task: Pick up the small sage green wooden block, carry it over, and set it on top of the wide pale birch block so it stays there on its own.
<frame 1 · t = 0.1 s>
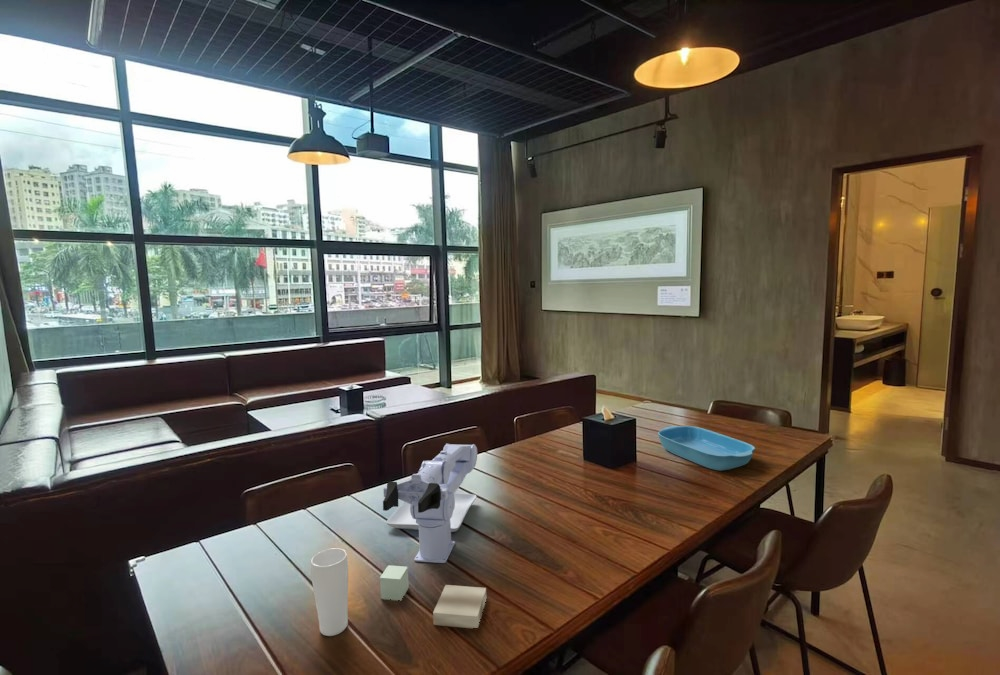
hand: (402, 506, 100), 22 cm above the table, tool horizontal, fingers open, 7 cm apart
casserole dish: (703, 457, 182), on the table
drinking glass: (334, 628, 95), on the table
sage block: (395, 593, 106), on the table
salad plate: (434, 518, 140), on the table
birch base: (461, 613, 99), on the table
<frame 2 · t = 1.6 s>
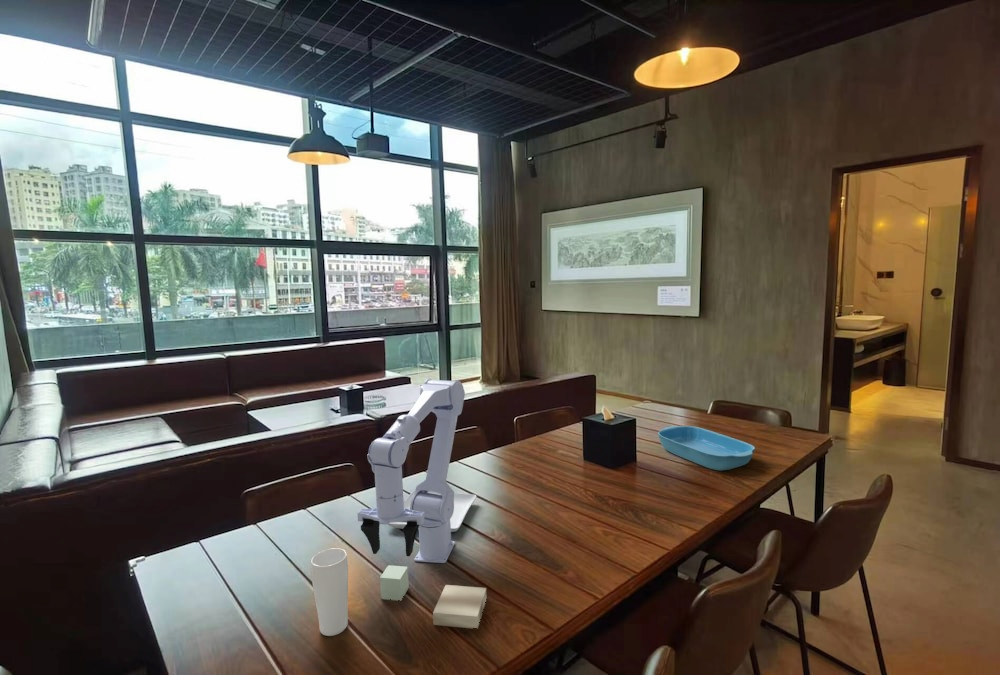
hand: (392, 552, 105), 9 cm above the table, tool pointing down, fingers open, 7 cm apart
nothing on the table moved.
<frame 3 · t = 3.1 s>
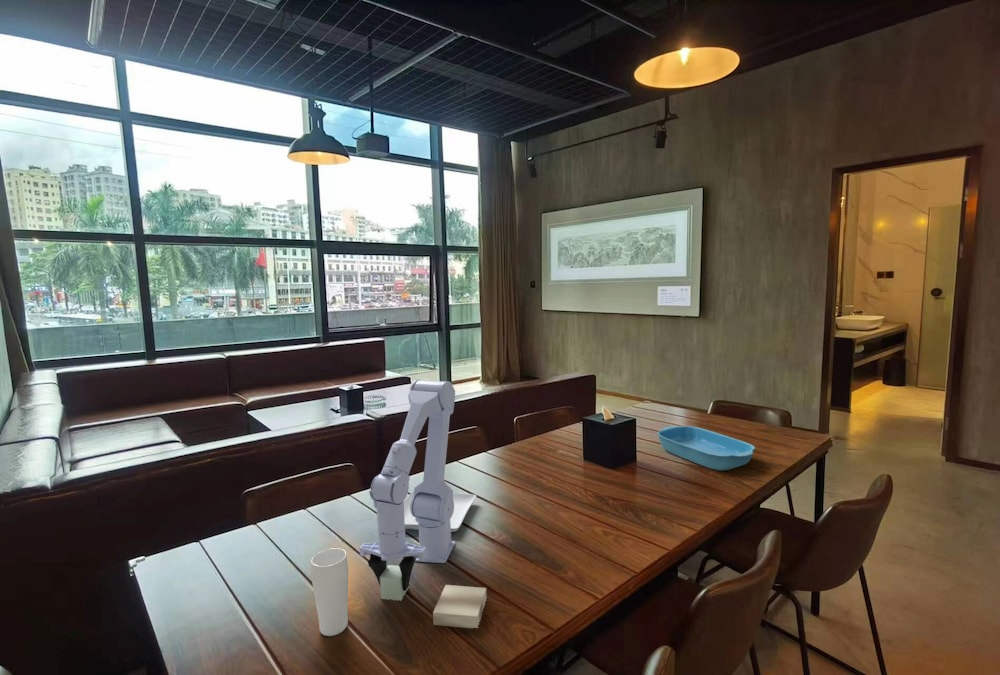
hand: (394, 586, 105), 1 cm above the table, tool pointing down, fingers closed on sage block, 5 cm apart
sage block: (395, 593, 106), on the table, touching gripper
everything else where it was.
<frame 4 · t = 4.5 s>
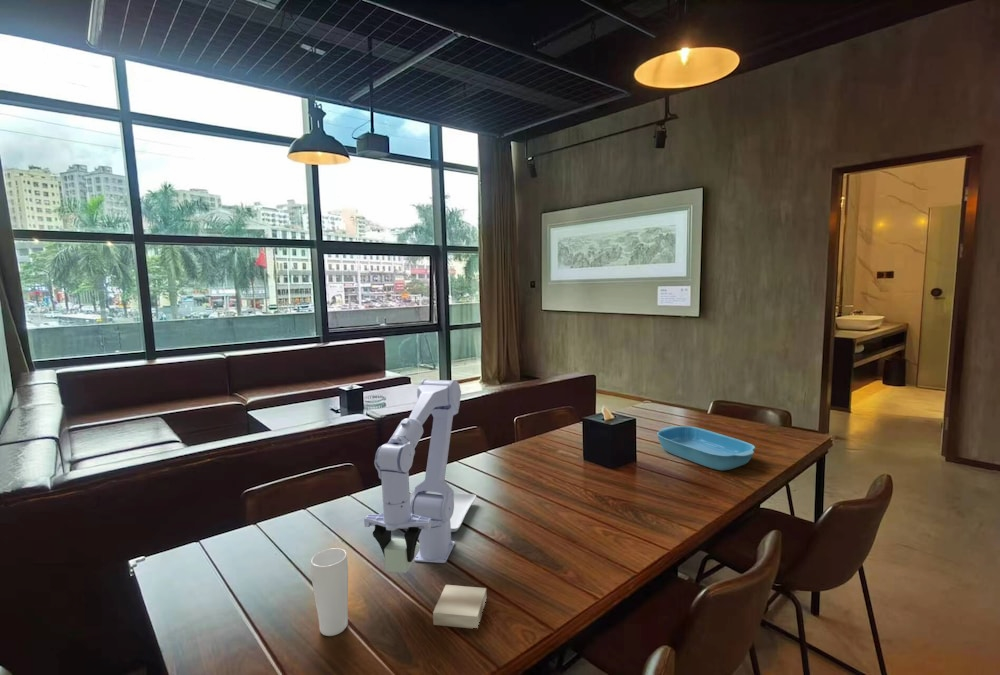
hand: (399, 558, 104), 8 cm above the table, tool pointing down, fingers closed on sage block, 5 cm apart
sage block: (399, 565, 104), point 7 cm above the table, touching gripper
everything else where it was.
when the fingers open (6 cm above the table, at t = 6.3 s): sage block drops 1 cm, resting on birch base.
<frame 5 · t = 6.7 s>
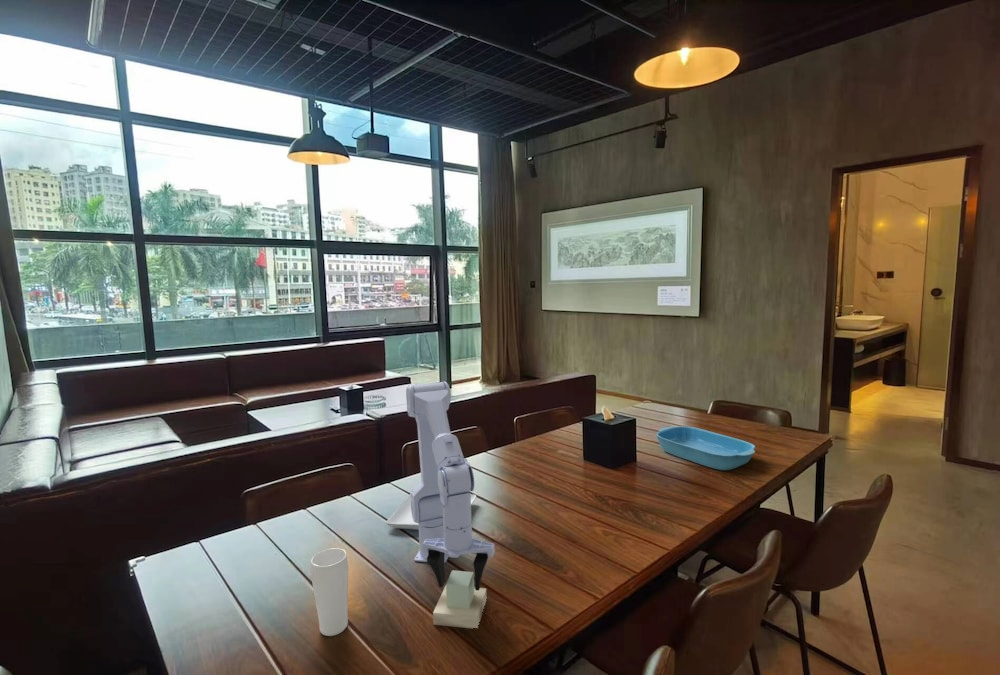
hand: (460, 585, 98), 6 cm above the table, tool pointing down, fingers open, 7 cm apart
sage block: (460, 600, 99), point 2 cm above the table, touching birch base
birch base: (461, 613, 99), on the table, touching sage block
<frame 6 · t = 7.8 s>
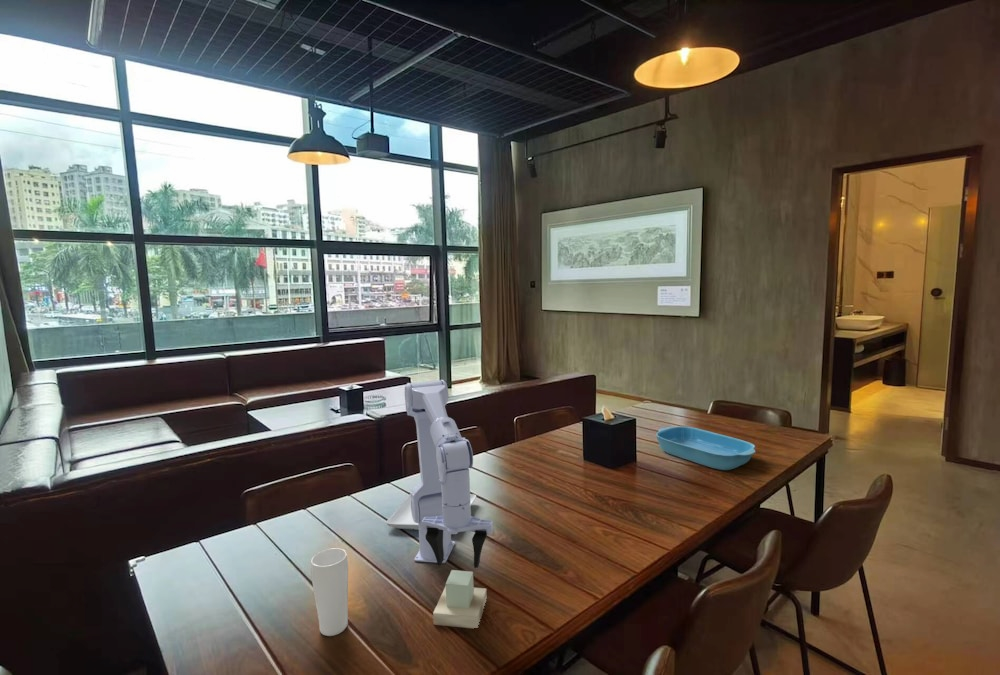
hand: (458, 563, 98), 10 cm above the table, tool pointing down, fingers open, 7 cm apart
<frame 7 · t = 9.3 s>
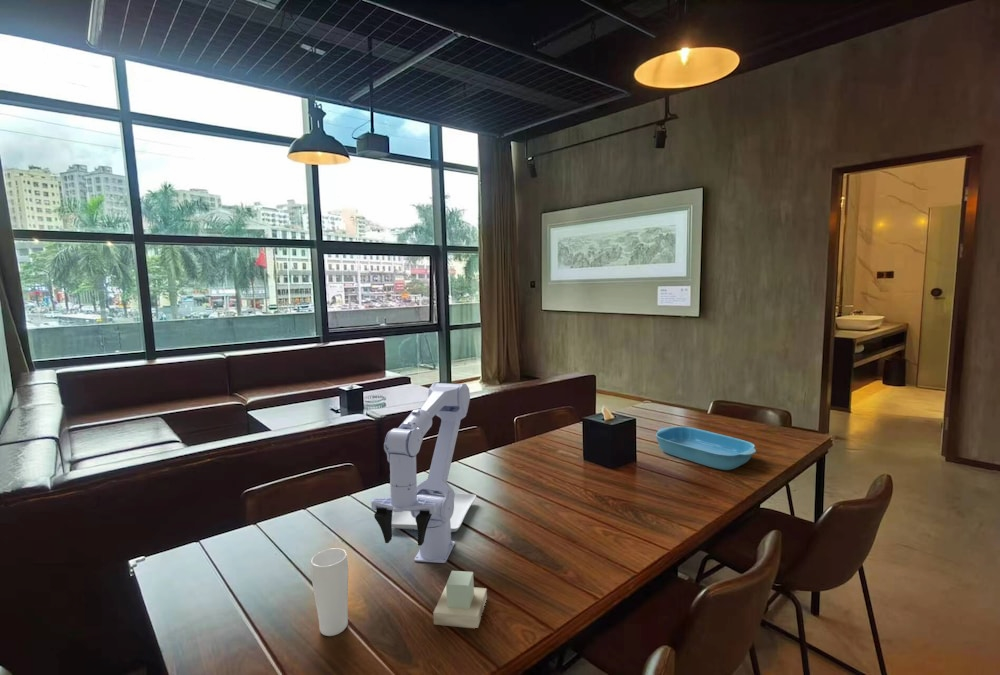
hand: (404, 542, 107), 10 cm above the table, tool pointing down, fingers open, 7 cm apart
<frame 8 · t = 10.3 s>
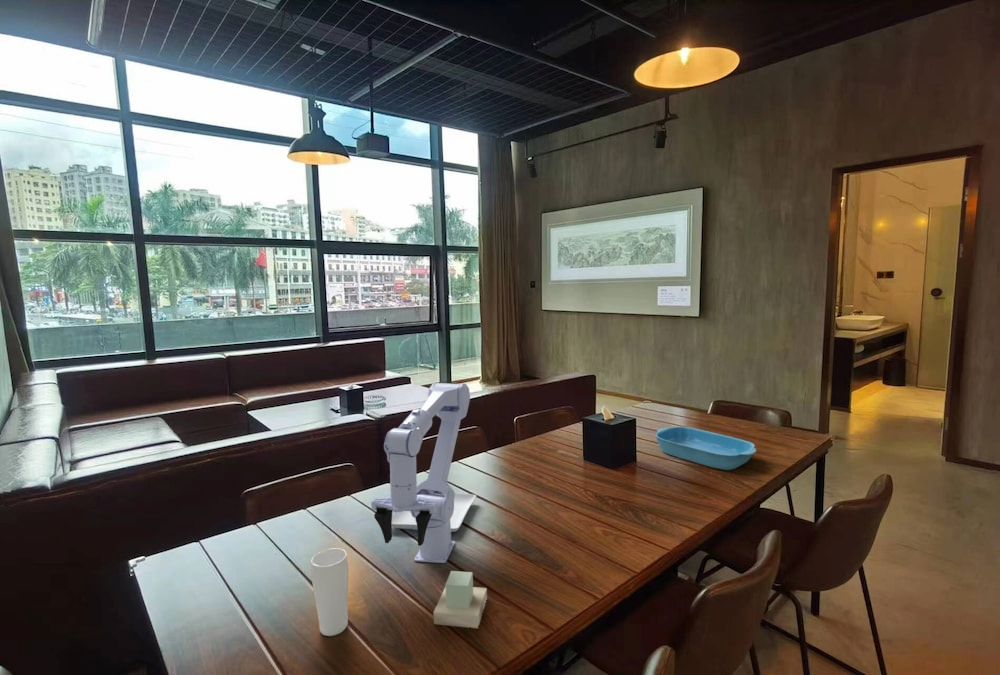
hand: (404, 542, 107), 10 cm above the table, tool pointing down, fingers open, 7 cm apart
at the end: sage block 0.3 cm off-centre on the birch base, point 3.0 cm above the birch base's base; sage block tilted 0°; the gripper is holding nothing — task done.
